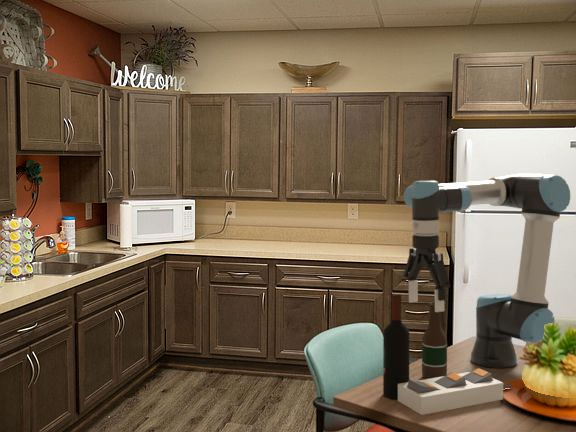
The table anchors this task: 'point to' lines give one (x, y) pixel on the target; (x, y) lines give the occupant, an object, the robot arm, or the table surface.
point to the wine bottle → (395, 352)
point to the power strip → (450, 395)
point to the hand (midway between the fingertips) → (426, 306)
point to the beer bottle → (434, 347)
